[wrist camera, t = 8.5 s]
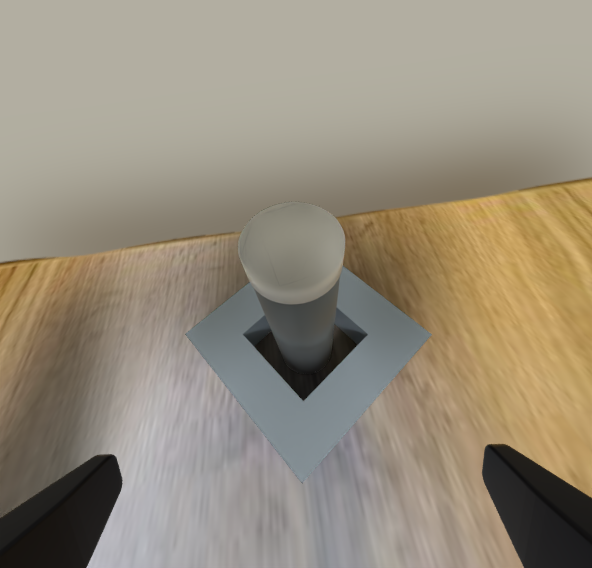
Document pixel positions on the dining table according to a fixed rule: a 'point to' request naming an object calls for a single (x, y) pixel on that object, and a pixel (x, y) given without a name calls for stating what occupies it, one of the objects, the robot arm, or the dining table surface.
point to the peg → (296, 278)
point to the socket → (336, 386)
